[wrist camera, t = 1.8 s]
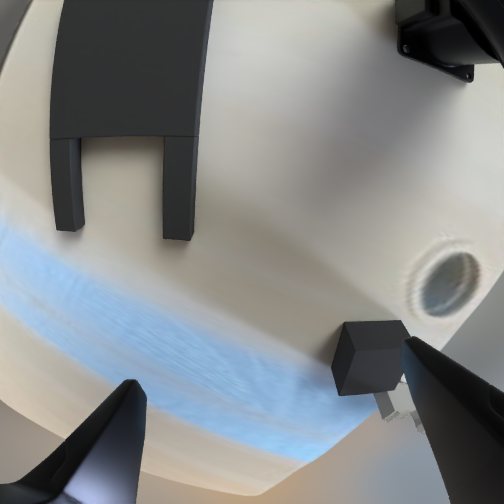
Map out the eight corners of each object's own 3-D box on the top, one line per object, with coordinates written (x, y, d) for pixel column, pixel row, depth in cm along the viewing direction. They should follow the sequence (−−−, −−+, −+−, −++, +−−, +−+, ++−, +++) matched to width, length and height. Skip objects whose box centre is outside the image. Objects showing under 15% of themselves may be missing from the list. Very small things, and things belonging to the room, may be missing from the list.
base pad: (218, -31, 13) (216, -40, 11) (194, 232, 20) (190, 241, 19) (78, -13, 12) (68, -19, 11) (65, 223, 20) (56, 230, 19)
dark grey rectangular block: (401, 319, 24) (416, 346, 21) (383, 364, 26) (394, 390, 23) (344, 321, 24) (355, 350, 21) (330, 367, 26) (338, 396, 23)
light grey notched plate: (377, 366, 27) (424, 392, 29) (366, 375, 27) (415, 399, 30) (395, 411, 21) (441, 429, 24) (382, 420, 22) (431, 436, 24)
